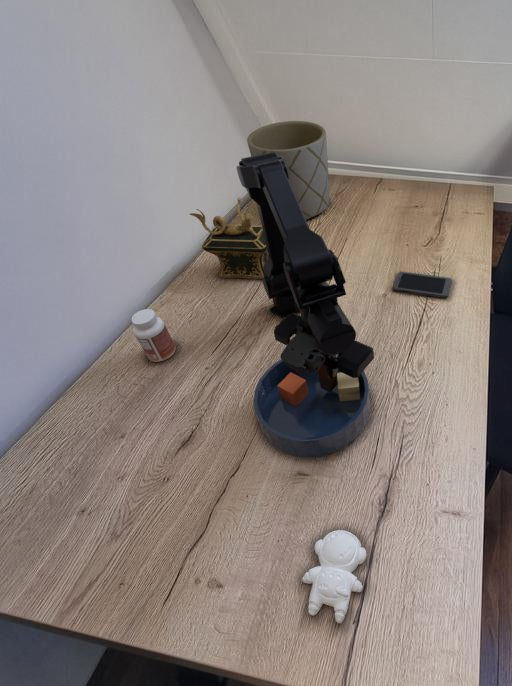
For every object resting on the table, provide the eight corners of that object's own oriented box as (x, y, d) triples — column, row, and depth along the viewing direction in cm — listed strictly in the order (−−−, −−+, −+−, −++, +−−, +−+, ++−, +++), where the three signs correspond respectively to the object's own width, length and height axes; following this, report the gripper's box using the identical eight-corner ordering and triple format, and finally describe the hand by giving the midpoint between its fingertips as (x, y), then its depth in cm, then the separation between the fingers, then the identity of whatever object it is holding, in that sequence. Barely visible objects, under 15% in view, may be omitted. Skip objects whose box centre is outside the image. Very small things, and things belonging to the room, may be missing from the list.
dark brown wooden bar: (320, 387, 89) (314, 349, 82) (327, 379, 91) (322, 341, 83) (330, 393, 88) (325, 354, 81) (337, 384, 90) (333, 346, 82)
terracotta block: (280, 398, 90) (277, 385, 87) (293, 384, 92) (290, 372, 89) (296, 407, 88) (292, 394, 85) (309, 393, 90) (306, 380, 88)
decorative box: (281, 260, 126) (267, 194, 112) (272, 281, 119) (256, 214, 105) (213, 257, 128) (191, 193, 115) (200, 278, 121) (175, 212, 108)
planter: (304, 233, 136) (292, 156, 120) (248, 215, 145) (230, 142, 129) (347, 200, 149) (341, 127, 133) (293, 185, 159) (281, 116, 143)
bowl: (236, 423, 87) (229, 406, 83) (306, 353, 99) (303, 335, 96) (325, 479, 77) (321, 462, 74) (390, 393, 90) (390, 375, 86)
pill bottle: (175, 339, 104) (158, 303, 97) (177, 358, 100) (159, 321, 92) (147, 347, 103) (127, 310, 95) (147, 366, 99) (126, 329, 91)
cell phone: (447, 298, 110) (448, 296, 110) (392, 290, 113) (392, 288, 113) (452, 280, 115) (452, 278, 115) (398, 273, 119) (398, 271, 118)
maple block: (338, 385, 91) (337, 372, 89) (358, 383, 92) (357, 370, 89) (340, 401, 88) (338, 389, 86) (360, 399, 89) (359, 386, 86)
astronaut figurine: (291, 609, 63) (288, 602, 61) (323, 526, 71) (321, 517, 69) (351, 631, 61) (349, 624, 59) (376, 542, 69) (375, 534, 67)
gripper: (244, 322, 75) (262, 382, 86) (333, 366, 68) (342, 425, 78) (287, 286, 82) (300, 345, 93) (374, 322, 74) (377, 382, 85)
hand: (327, 373), depth 87 cm, fingers closed on dark brown wooden bar, 2 cm apart
